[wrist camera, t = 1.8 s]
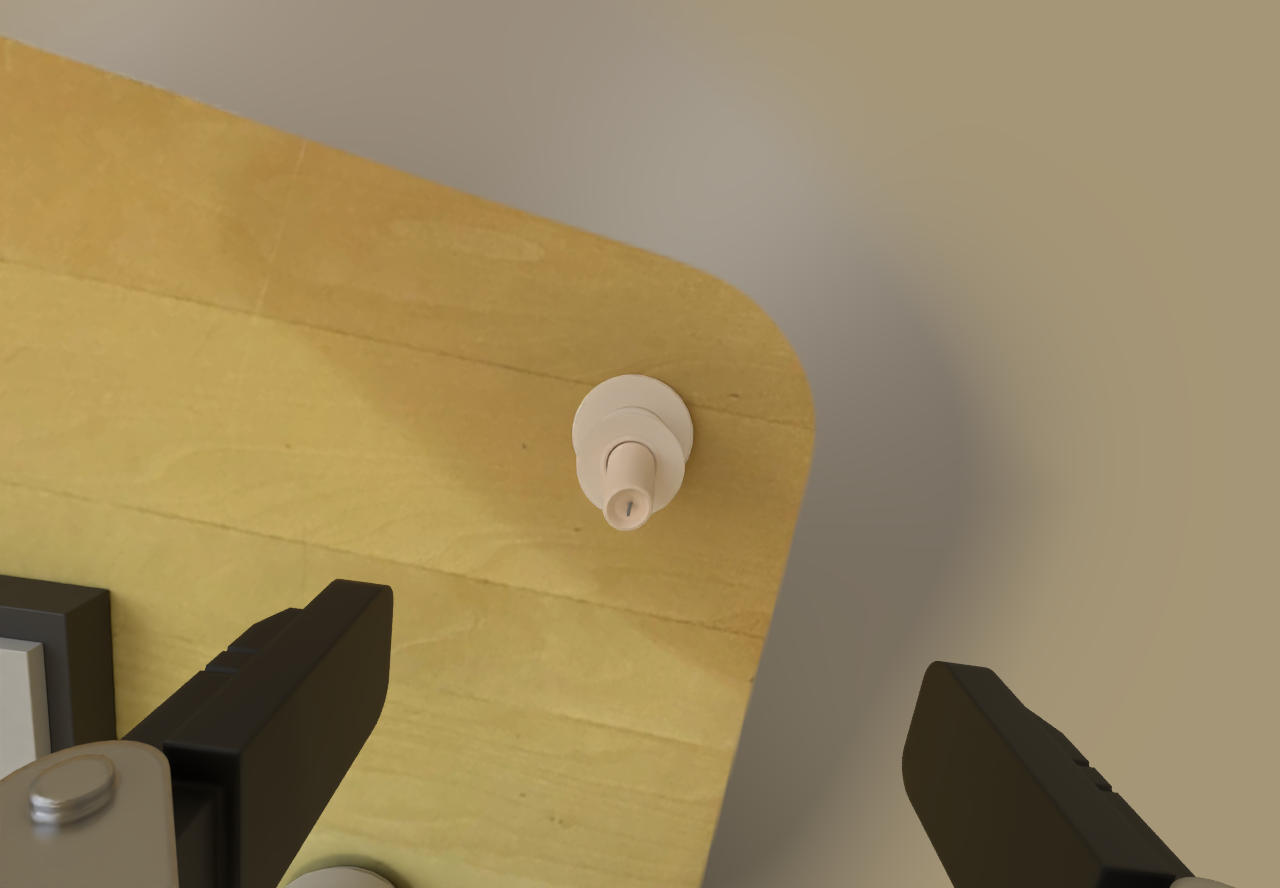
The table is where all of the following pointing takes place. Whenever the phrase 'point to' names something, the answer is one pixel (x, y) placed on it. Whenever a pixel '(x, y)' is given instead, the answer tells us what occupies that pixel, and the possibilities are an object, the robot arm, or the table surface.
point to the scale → (52, 669)
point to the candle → (631, 447)
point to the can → (341, 879)
